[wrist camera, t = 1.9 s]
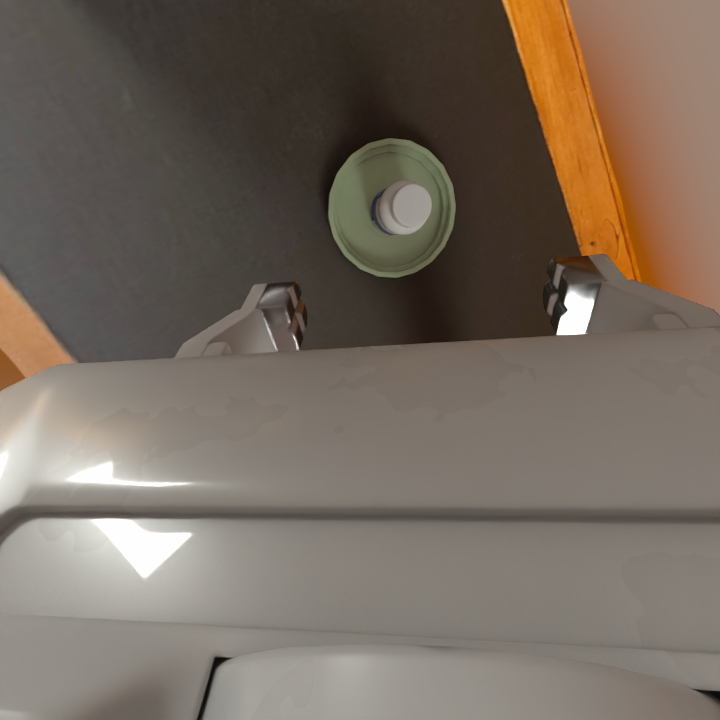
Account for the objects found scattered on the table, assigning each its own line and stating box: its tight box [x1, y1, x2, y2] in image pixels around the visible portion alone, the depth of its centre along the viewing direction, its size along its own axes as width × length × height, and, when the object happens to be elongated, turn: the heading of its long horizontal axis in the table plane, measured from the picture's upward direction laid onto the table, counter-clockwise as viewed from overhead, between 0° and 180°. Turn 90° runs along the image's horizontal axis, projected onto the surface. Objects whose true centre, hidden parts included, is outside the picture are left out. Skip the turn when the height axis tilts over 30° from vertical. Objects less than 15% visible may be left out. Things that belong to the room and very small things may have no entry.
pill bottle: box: [369, 180, 432, 236], centre depth 43 cm, size 5×5×10 cm
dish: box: [327, 138, 456, 278], centre depth 47 cm, size 15×15×2 cm
